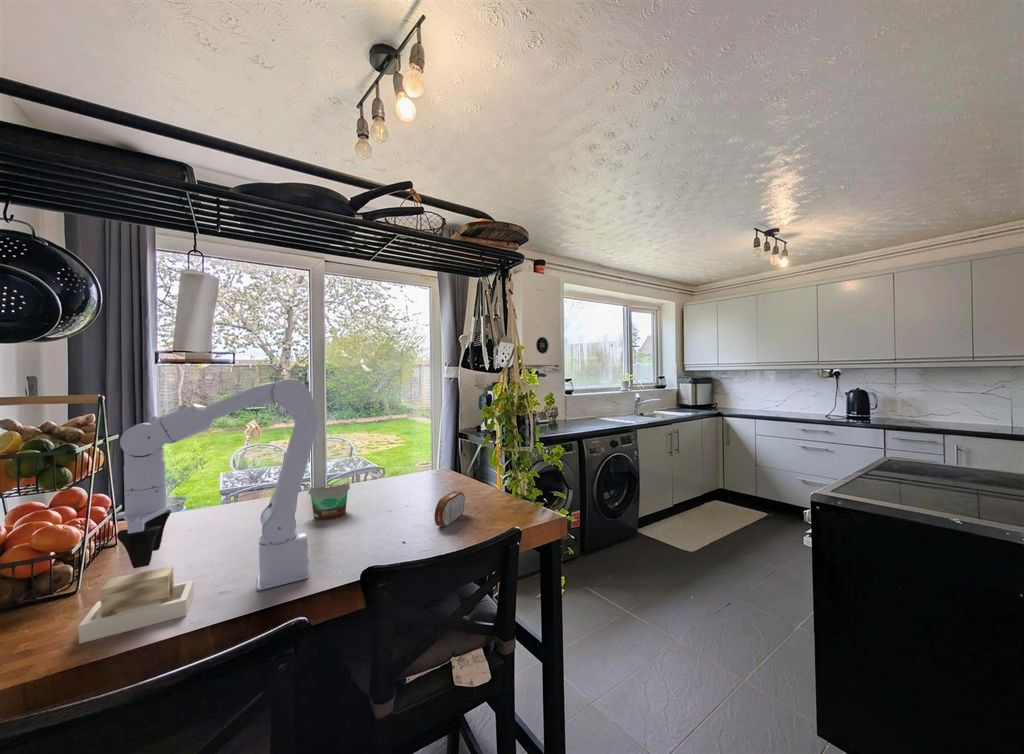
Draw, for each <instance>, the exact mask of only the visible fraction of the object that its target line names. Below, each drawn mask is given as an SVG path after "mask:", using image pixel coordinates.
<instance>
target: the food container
mask: <svg viewBox="0 0 1024 754" xmlns="http://www.w3.org/2000/svg"><path fill="white" fill-rule="evenodd" d="M350 489H351V485H350V482H349V480H347V482H346V483H343V484H330V485H325V486H323V487H319V488H316V487H315V488H314V487H311V486H309V489H308V493H307V494H308V495H310V498H311V507H312V513H313V519H315V520H316V521H317V520H318V521H330V520H335V519H338V518H341V517H344V516H345V514H346V512H347V503H348V501H347V500H348V492H349V490H350Z"/></svg>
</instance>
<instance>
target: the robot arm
mask: <svg viewBox="0 0 1024 754" xmlns="http://www.w3.org/2000/svg"><path fill="white" fill-rule="evenodd" d="M313 399H314V398H313V394H312V393H311V391H310V389H309V388H307V386H306V385H305V384H304V383H303V382H301V381H300V380H299V379H296V378H282V379H279V380H278V381H276V382H275V381H273V382H272V381H271V382H267V383H263V384H259V385H256V386H252V387H250V388H248V389H245V390H243V391H241V392H238V393H236V394H233V395H231V396H230V395H229V396H227V397H225V398H223V399H221V400H219V401H217V402H214V403H211V404H209V405H205V406H204V405H200V404H199V403H198V404H197V403H191V404H190V405H188V404H187V403H184V404H181V405H179V406H178V409H176V410H174V411H173V410H172V411H171V412H168V413H166V414H163V415H160V416H156V415H153V416H150V417H149V418H148V420H149V422H143V423H138V424H134V425H133V426H131V427H130V428H128V429H126V430H125V431H124V432H123V433H122V435H121V436H120V440H119V445H120V448H121V449H122V451H123V452H124V456H123V457H124V458H123V459H124V465H123V485H124V489H123V491H124V495H123V496H124V511H121V512H118V513H117V514H116V515H115V519H116V520H119V519H124V521H125V522H126V523H127V528H126V529H120V530H119V531H118V532H117V533H116V538H117V540H118V541H119V542H120V543H121V544H122V545H123V547H124V549H126V552H127V555H128V558H129V561H130V563H131V564H130V565H131V566H132V568H133V569H139V568H143V567H148V566H149V565H150V564H151V561H152V557H153V552H155V551H159V550H160V547H161V544H162V540H163V534H164V530H165V526H166V523H167V521H168V519H169V517H170V515H171V514H172V509H168V505H167V495H166V493H167V492H166V491H167V487H166V485H167V484H166V460H165V458H164V447H163V446H164V445H165V444H167V445H169V444H170V445H171V444H175V443H178V442H180V441H182V440H185V439H188V438H190V437H193V436H194V435H197V434H199V433H202V432H205V431H207V430H209V429H210V427H211V425H212V424H213V421H214V420H216V419H219V418H222V417H225V416H227V415H230V414H233V413H235V412H238V411H241V410H243V409H246V408H249V407H250V406H251V407H252V406H253V405H270V406H272V405H273V402H272V400H273V401H274V402H275V403H276V404H278V406H280V407H281V408H283V409H285V410H286V411H287V414H288V415H289V416H290V417H291V419H292V420H293V421H294V425H293V428H292V431H291V434H290V439H289V441H288V444H287V448H286V452H285V455H284V459H283V461H282V465H281V468H280V471H279V476H278V479H277V482H276V485H275V488H274V491H273V493H272V495H271V498H270V501H269V503H268V505H266V506H265V508H264V510H262V512H261V514H260V524H261V536H259V539H258V558H259V559H258V562H259V563H258V565H259V567H258V568H259V571H258V572H259V573H258V574H257V581H256V590H257V591H262V590H267V589H271V588H274V587H275V588H276V587H278V586H282V585H287V584H291V583H294V582H295V583H296V582H298V581H302V580H306V579H308V578H309V565H310V558H309V549H308V548H309V547H308V546H309V545H308V534H307V532H298V531H297V520H296V513H297V512H296V511H297V506H298V496H299V493H300V490H301V486H302V483H303V479H304V476H305V472H306V470H307V469H306V468H307V466H308V461H309V458H310V455H311V451H312V448H313V444H314V441H315V437H316V432H317V431H318V426H319V424H320V415H319V412H318V410H317V407H316V404H315V402H314V400H313Z"/></svg>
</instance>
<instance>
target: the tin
mask: <svg viewBox="0 0 1024 754" xmlns="http://www.w3.org/2000/svg"><path fill="white" fill-rule="evenodd" d="M465 498H466V497H465V494H464V493H463V492H462V491H457V490H453V491H451V492H450V493H447V494H446V495H444V496H442V497H441V498H440V499H439V501H438V502H437V504H436V506H435V509H434V510H435V511H434V522H435V525H436V526H437V527H442V528H447V527H449V526H450V525H452V524H453V523H454V522H456V521H457V520H458V519H460V518H461V517H462V515H463V514H464V513H463V512H464V511H465V501H466V499H465Z"/></svg>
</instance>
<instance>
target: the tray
mask: <svg viewBox="0 0 1024 754" xmlns="http://www.w3.org/2000/svg"><path fill="white" fill-rule="evenodd" d="M194 584H195V582H194V579H193V580H187V581H182V582H178V583H174V599H173V601H169V602H165V603H161V604H160V599H156V600H152V601H148V602H144V603H140V604H135V605H131V606H127V607H123V608H119V613H118V614H116V615H111V616H107V617H103V618H101V600H99V601H97V602H96V603H95V604H94V605H93V607H92V608H91V610H89V612H88V613H87V614H86V615H85V617H84V619H83V620H82V621H81V622H80V623H79V625H78V644H83V643H88V642H91V641H94V640H95V641H96V640H99V639H102V638H107V637H109V636H113V635H118V634H121V633H125V632H129V631H133V630H137V629H141V628H145V627H148V626H152V625H156V624H159V623H164V622H168V621H171V620H175V619H179V618H183V617H184V618H185V617H186V616H187V615H188V612H189V609H190V607H191V603H192V601H193V599H194V595H195V590H194V589H195V585H194Z"/></svg>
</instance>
